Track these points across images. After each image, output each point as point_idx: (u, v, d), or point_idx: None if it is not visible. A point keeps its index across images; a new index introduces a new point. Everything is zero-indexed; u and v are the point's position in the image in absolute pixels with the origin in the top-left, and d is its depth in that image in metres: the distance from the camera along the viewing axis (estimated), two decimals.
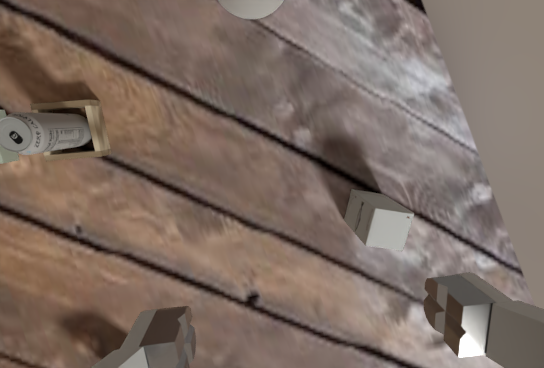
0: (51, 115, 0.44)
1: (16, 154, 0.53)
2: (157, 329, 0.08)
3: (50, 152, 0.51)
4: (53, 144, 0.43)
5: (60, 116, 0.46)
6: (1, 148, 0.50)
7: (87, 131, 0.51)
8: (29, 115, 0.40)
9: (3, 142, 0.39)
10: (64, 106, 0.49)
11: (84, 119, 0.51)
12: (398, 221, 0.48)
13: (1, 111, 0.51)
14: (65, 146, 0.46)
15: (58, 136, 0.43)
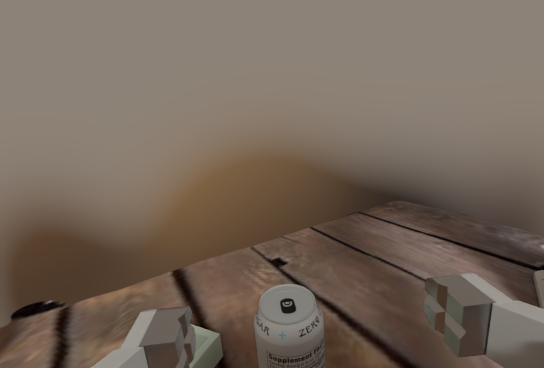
0: None
1: None
2: (157, 329, 0.08)
3: None
4: (307, 366, 0.22)
5: None
6: None
7: None
8: None
9: (265, 304, 0.23)
10: None
11: None
12: None
13: (220, 353, 0.36)
14: None
15: (319, 362, 0.23)
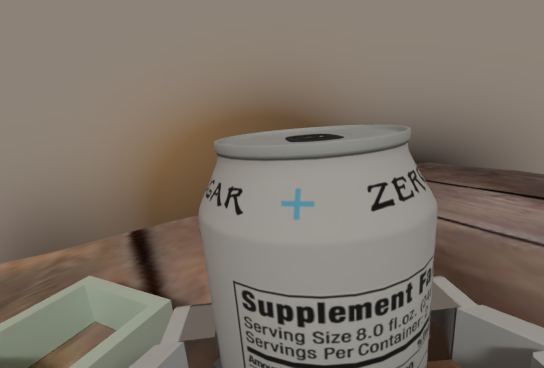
0: None
1: None
2: (194, 324, 0.08)
3: None
4: (396, 341, 0.06)
5: None
6: None
7: None
8: None
9: (237, 142, 0.07)
10: None
11: None
12: None
13: None
14: None
15: (425, 331, 0.06)
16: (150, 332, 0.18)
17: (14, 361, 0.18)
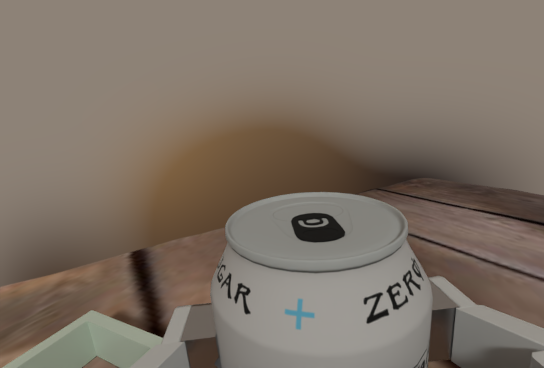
0: None
1: None
2: (195, 324, 0.08)
3: None
4: None
5: None
6: None
7: None
8: None
9: (246, 224, 0.08)
10: None
11: None
12: None
13: None
14: None
15: None
16: None
17: None
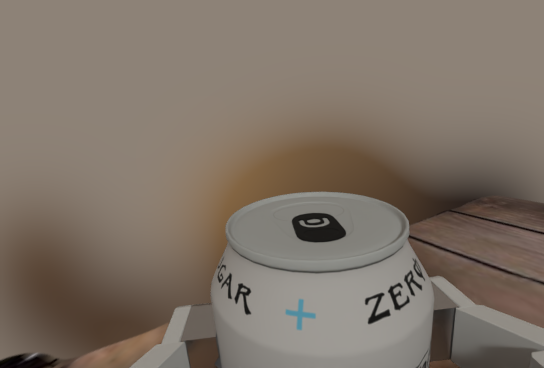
0: None
1: None
2: (195, 324, 0.08)
3: None
4: None
5: None
6: None
7: None
8: None
9: (247, 224, 0.08)
10: None
11: None
12: None
13: None
14: None
15: None
16: None
17: None
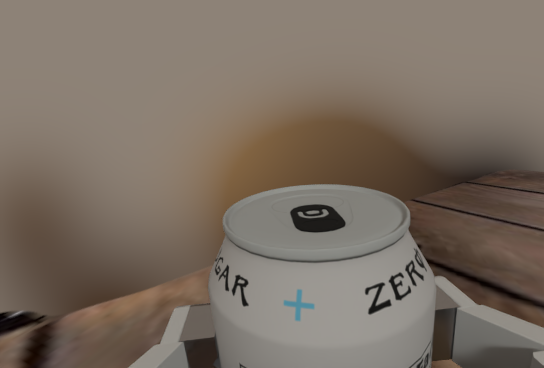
0: None
1: None
2: (194, 325, 0.08)
3: None
4: None
5: None
6: None
7: None
8: None
9: (244, 216, 0.08)
10: None
11: None
12: None
13: None
14: None
15: None
16: None
17: None
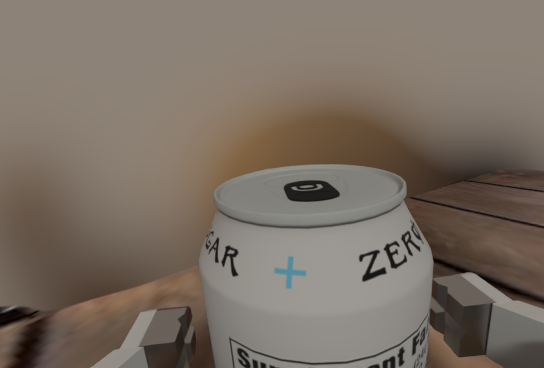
0: None
1: None
2: (157, 329, 0.08)
3: None
4: None
5: None
6: None
7: None
8: None
9: (236, 191, 0.07)
10: None
11: None
12: None
13: None
14: None
15: None
16: None
17: None
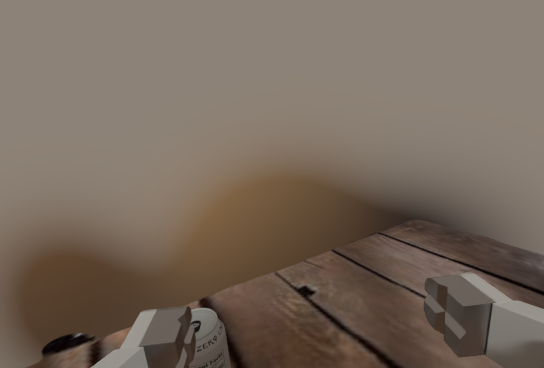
0: None
1: None
2: (157, 329, 0.08)
3: None
4: None
5: None
6: None
7: None
8: (223, 324, 0.32)
9: None
10: None
11: None
12: None
13: None
14: None
15: None
16: None
17: None
